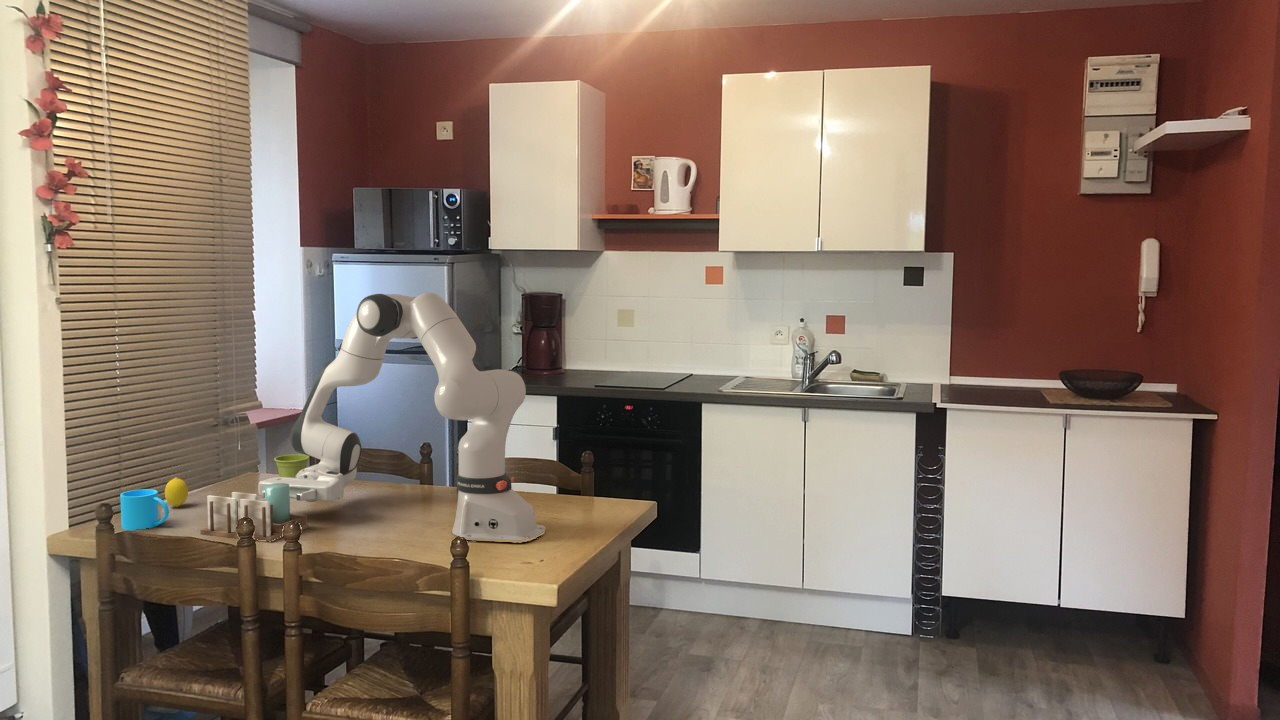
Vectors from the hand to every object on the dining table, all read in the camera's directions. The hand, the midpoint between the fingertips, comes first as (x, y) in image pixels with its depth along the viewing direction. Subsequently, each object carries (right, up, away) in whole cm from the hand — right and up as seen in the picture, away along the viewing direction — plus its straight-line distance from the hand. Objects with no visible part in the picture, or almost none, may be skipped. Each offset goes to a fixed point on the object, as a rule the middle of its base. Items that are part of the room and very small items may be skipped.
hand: (281, 496), depth 244 cm
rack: (-6, -8, -1) cm, 10 cm away
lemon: (-35, -6, +20) cm, 40 cm away
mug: (-33, -8, +2) cm, 34 cm away
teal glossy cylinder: (0, -7, -1) cm, 7 cm away
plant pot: (-13, -4, +44) cm, 46 cm away
